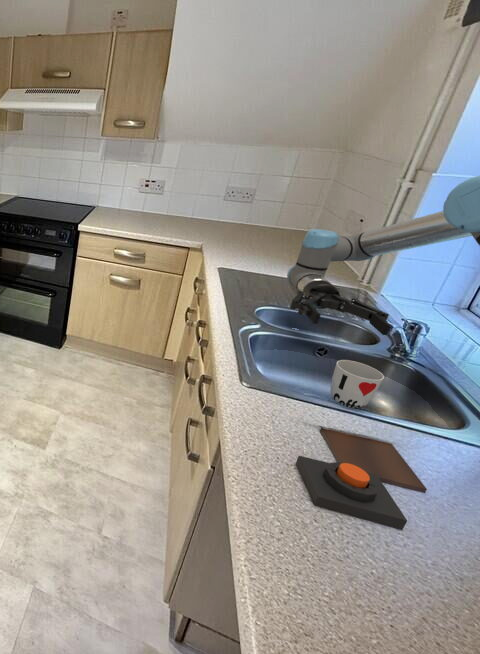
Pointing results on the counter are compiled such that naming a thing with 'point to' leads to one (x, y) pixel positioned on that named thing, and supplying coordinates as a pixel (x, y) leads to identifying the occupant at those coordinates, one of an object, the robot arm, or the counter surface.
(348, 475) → the console button
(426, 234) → the robot arm
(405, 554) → the counter surface
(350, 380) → the cup
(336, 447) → the trivet
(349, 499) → the console
